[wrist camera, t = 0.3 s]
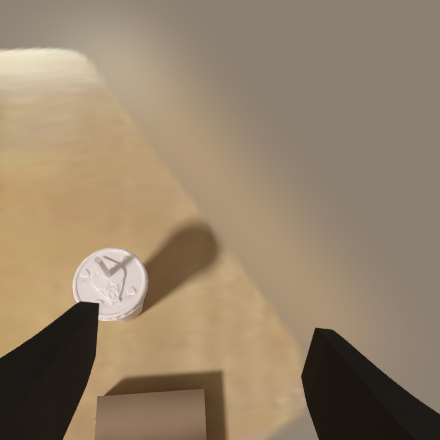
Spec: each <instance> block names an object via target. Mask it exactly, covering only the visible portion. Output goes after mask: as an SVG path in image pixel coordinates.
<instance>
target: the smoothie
mask: <svg viewBox="0 0 440 440" xmlns="http://www.w3.org/2000/svg"><path fill="white" fill-rule="evenodd" d="M147 290H148V275H147V271H146V269H145V267H144V265H143V263H142V262H141V261H140V259H139V258H138V257H137V256H136V255H134V254H133V253H131V252H130V251H128V250H125V249H121V248H105V249H101V250H99V251H96V252H94V253H92V254H91V255H89V256H88V257H87V258H86V259H85V260H84V261H83V262H82V263H81V264H80V266H79V267H78V269H77V271H76V273H75V276H74V279H73V293H74V297H75V299H76V302H77V303H78V302H79V301H84V302H93V303H100V304H99V317H98V319H99V320H102V321H114V320H118V321H123V322H127V321H131V320H133V319H135V318H136V317H138V316H139V314H140V313H141V311H142V309H143V302H144V299H145V296H146V293H147Z"/></svg>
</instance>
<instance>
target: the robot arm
mask: <svg viewBox="0 0 440 440" xmlns="http://www.w3.org/2000/svg"><path fill="white" fill-rule="evenodd" d="M99 304H100V303H93V302H84V301H79V302H78V303H77V304H75V305H74V306H73V307H71V308H70V309H69V310H68V311H66V312H65V313H64V314H63V315H61V316H60V317H59V318H57V319H56V320H55V321H54V322H52V323H51V324H50V325H48V326H47V327H46V328H44V329H43V330H42V331H40V332H39V333H38V334H36V335H35V336H33V337H32V338H31V339H29V340H28V341H26V342H25V343H23V344H22V345H20V346H19V347H17V348H16V349H14V350H13V351H11V352H10V353H8V354H6V355H5V356H3V357H1V358H0V440H63V438H64V435H65V433H66V431H67V429H68V426H69V424H70V422H71V420H72V417H73V415H74V413H75V411H76V408H77V406H78V404H79V402H80V399H81V397H82V395H83V392H84V390H85V388H86V386H87V382H88V379H89V376H90V373H91V370H92V366H93V363H94V360H95V356H96V344H97V331H98V317H99ZM301 378H302V383H303V388H304V393H305V398H306V402H307V406H308V409H309V412H310V415H311V418H312V421H313V424H314V427H315V430H316V432H317V435H318V438H319V440H440V414H438V413H437V412H435V411H434V410H433V409H431V408H430V407H428V406H427V405H425V404H424V403H422V402H421V401H419V400H418V399H417V398H415V397H414V396H413V395H411V394H410V393H409V392H407V391H406V390H404V389H403V388H402V387H401V386H400V385H398V384H397V383H396V382H394V381H393V380H392V379H391V378H389V377H388V376H387V375H386V374H384V373H383V372H382V371H381V370H380V369H379V368H377V367H376V366H375V365H374V364H373V363H371V362H370V361H369V360H368V359H367V358H366V357H365V356H363V355H362V354H361V353H360V352H359V351H358V350H356V349H355V348H354V347H353V346H352V345H351V344H350V343H348V342H347V341H346V340H345V339H344V338H342V337H341V336H340V335H339V334H337V333H336V332H335V331H334V330H331V329H322V328H315V331H314V335H313V338H312V341H311V345H310V348H309V351H308V355H307V358H306V362H305V365H304V369H303V372H302V375H301Z"/></svg>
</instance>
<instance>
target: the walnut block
mask: <svg viewBox="0 0 440 440" xmlns="http://www.w3.org/2000/svg"><path fill="white" fill-rule="evenodd" d="M95 440H207V439H206V417H205V396H204V389H192V390H178V391H165V392H151V393H137V394H124V395H110V396H97V413H96V429H95Z"/></svg>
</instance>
